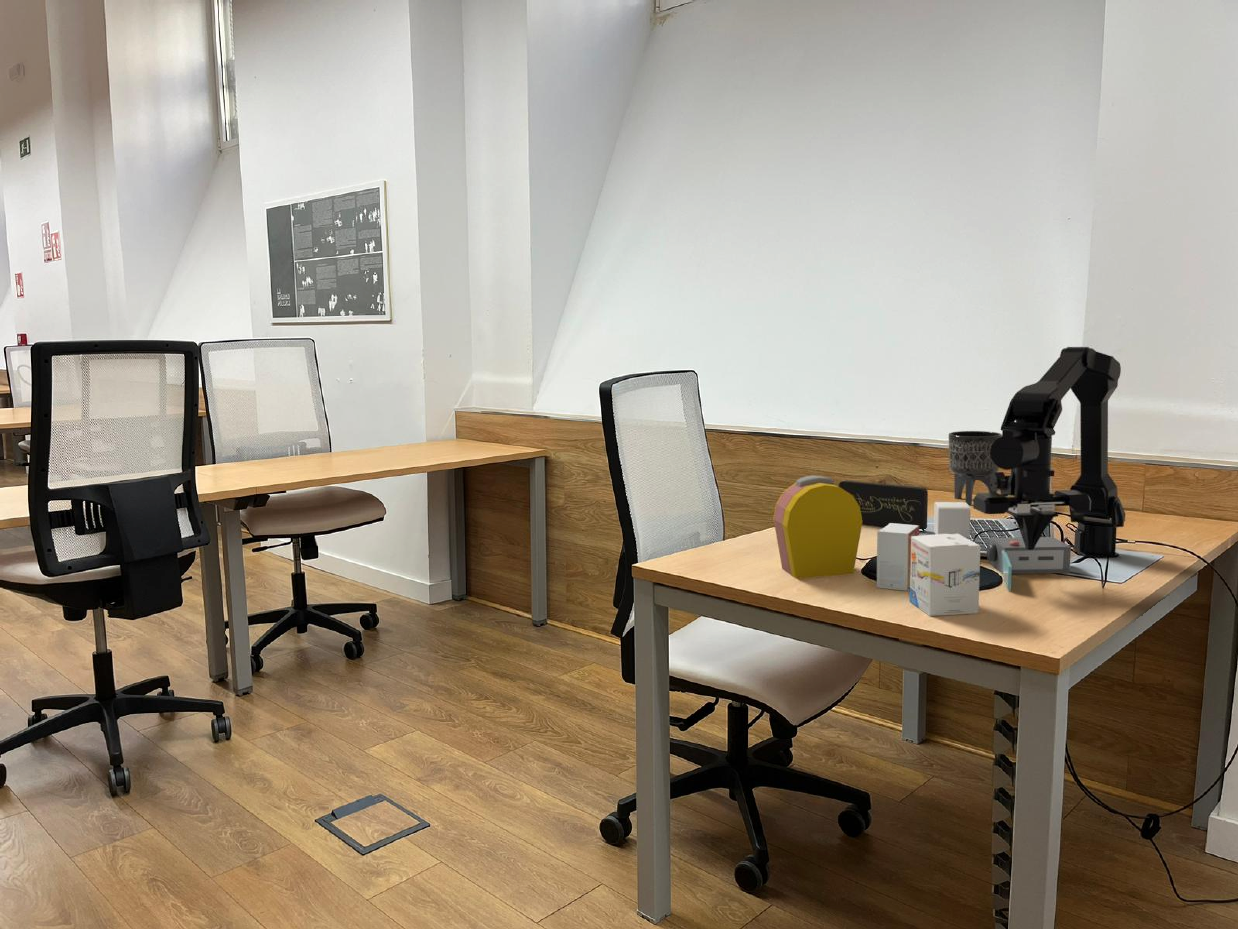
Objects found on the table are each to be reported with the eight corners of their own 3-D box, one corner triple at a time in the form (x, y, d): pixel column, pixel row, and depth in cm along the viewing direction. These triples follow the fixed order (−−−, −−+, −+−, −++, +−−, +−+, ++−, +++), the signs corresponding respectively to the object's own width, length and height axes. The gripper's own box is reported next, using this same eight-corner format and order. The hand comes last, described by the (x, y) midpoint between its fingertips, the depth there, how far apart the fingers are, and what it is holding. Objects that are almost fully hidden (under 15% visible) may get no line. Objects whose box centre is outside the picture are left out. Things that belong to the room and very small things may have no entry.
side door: (998, 573, 172) (999, 550, 171) (1005, 573, 172) (1006, 550, 171) (1003, 590, 161) (1004, 565, 160) (1011, 590, 161) (1012, 566, 160)
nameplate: (927, 531, 209) (928, 488, 207) (923, 533, 207) (924, 489, 206) (842, 520, 222) (842, 480, 221) (838, 522, 221) (838, 481, 219)
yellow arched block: (844, 563, 183) (844, 471, 180) (861, 573, 175) (863, 478, 172) (772, 568, 181) (772, 475, 178) (787, 579, 173) (786, 482, 170)
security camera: (969, 556, 185) (970, 507, 184) (933, 555, 187) (934, 507, 185) (964, 548, 192) (965, 501, 190) (929, 548, 193) (930, 501, 191)
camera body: (1051, 562, 179) (1053, 533, 179) (1069, 573, 171) (1071, 543, 170) (983, 563, 180) (984, 535, 179) (998, 574, 172) (999, 544, 171)
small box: (907, 592, 162) (908, 533, 161) (875, 588, 165) (876, 530, 164) (919, 581, 169) (920, 524, 168) (888, 577, 172) (889, 522, 171)
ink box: (908, 601, 157) (909, 534, 155) (956, 599, 158) (957, 532, 156) (929, 617, 149) (930, 546, 147) (979, 614, 149) (982, 543, 148)
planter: (994, 507, 231) (996, 437, 229) (941, 503, 238) (942, 435, 236) (1004, 499, 242) (1006, 432, 240) (953, 495, 249) (955, 430, 247)
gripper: (1061, 454, 170) (1058, 537, 172) (961, 458, 169) (959, 541, 172) (1094, 463, 159) (1090, 551, 161) (988, 467, 158) (985, 555, 161)
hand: (1029, 549), depth 164 cm, fingers closed
